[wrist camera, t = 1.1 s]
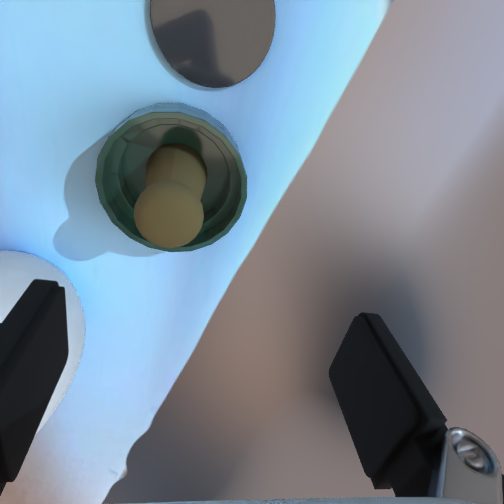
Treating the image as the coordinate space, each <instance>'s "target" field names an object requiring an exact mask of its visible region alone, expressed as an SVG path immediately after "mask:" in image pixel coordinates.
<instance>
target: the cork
mask: <svg viewBox="0 0 504 504" xmlns="http://www.w3.org/2000/svg"><path fill="white" fill-rule="evenodd" d="M207 176H208V175H207V167H206V165H205V163H204V160H203V158H202V157H201V156H200V155H199V154H198V153H197V152H196V151H195V150H194V149H192V148H190V147H188V146H187V145H182V144H178V143H173V144H165V145H163V146H161V147H159V148H157V149H156V150H155V151H154V152H153V153H152V154H151V155H150V157H149V159H148V161H147V163H146V178H145V190H144V191H143V192H142V193H141V194H140V196H139V198H138V200H137V202H136V204H135V208H134V219H135V223H136V226H137V229H138V230H139V232H140V233H141V235H142V236H143V237H144V238H146V239H147V240H148V241H149V242H151V243H153V244H155V245H157V246H160V247H166V248H174V247H180V246H183V245H185V244H188V243H189V242H191V241H192V240H193V239H194V238H195V237H196V236H197V234H198V233H199V231H200V229H201V228H202V224H203V219H204V213H203V206H202V203H201V202H200V200H201V197H202V194H203V191H204V188H205V185H206V181H207Z"/></svg>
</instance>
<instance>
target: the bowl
mask: <svg viewBox="0 0 504 504" xmlns="http://www.w3.org/2000/svg"><path fill="white" fill-rule="evenodd" d="M173 143H178V144H182V145H187V146H188V147H190V148H192V149H194V150H195V151H196V152H197V153H198V154H199V155H200V156H201V157H202V158H203V160H204V163H205V165H206V167H207V175H208V176H207V181H206V185H205V188H204V191H203V194H202V197H201V200H200V202H201V203H202V206H203V213H204V219H203V224H202V228H201V229H200V231H199V233H198V234H197V236H196V237H195V238H194V239H193V240H192V241H191V242H189V243H188V244H185V245H183V246H180V247H174V248H166V247H160V246H157V245H155V244H153V243H151V242H149V241H148V240H147V239H146V238H144V237H143V236H142V235H141V233H140V232H139V230H138V229H137V226H136V223H135V219H134V208H135V204H136V202H137V200H138V198H139V196H140V194H141V193H142V192H143V191H144V190H145V178H146V163H147V161H148V159H149V157H150V155H151V154H152V153H153V152H154V151H155V150H156V149H157V148H159V147H161V146H163V145H165V144H173ZM95 182H96V187H97V191H98V195H99V199H100V203H101V204H102V206H103V208H104V209H105V211H106V213H107V214H108V216H109V218H110V219H111V221H112V222H113V223H114V224H115V225H116V226H117V227H118V228H119V229H120V230H121V231H123V232H124V233H125V234H126V235H127V236H128V237H129V238H131V239H133V240H135V241H137V242H139V243H141V244H143V245H145V246H147V247H149V248H154V249H158V250H163V251H168V252H183V251H193V250H196V249H199V248H202V247H205V246H208V245H211V244H213V243H214V242H216V241H217V240H219V239H220V238H221V237H223V236H224V235H226V234H227V233H228V232H229V231H230V229H231V228H232V227H233V226H234V224H235V223H236V222H237V220H238V219H239V218H240V216H241V213H242V210H243V207H244V205H245V202H246V198H247V175H246V172H245V169H244V166H243V162H242V159H241V156H240V153H239V150H238V147H237V144H236V142H235V141H234V139H233V138H232V136H231V135H230V134H229V132H228V131H227V129H226V128H225V127H224V125H223V124H221V123H220V122H219V121H217V120H216V119H215V118H213V117H212V116H211V115H209V114H208V113H207V112H205V111H203V110H200V109H198V108H195V107H192V106H189V105H186V104H183V103H182V104H181V103H158V104H154V105H151V106H148V107H146V108H143V109H140V110H137V111H135V112H134V113H133V114H132V115H131V116H129V117H128V118H127V119H126V120H125V121H124V122H122V123H121V124H120V125H119V126H118V127H117V128H116V129H115V130H114V132H113V133H112V134H111V135H110V136H109V137H108V139H107V141H106V143H105V145H104V147H103V149H102V150H101V152H100V154H99V156H98V160H97V169H96V177H95Z"/></svg>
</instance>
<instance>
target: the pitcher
mask: <svg viewBox="0 0 504 504" xmlns="http://www.w3.org/2000/svg"><path fill="white" fill-rule="evenodd" d="M34 279H43V280H53V281H57V282H58V284H59V286H62V287H64V288H65V296H66V313H67V330H68V347H69V354H68V359H67V363H66V365H65V367H64V370H63V372H62V374H61V377H60V379H59V381H58V383H57V386H56V388H55V390H54V393H53V395H52V397H51V400H50V402H49V404H48V406H47V409H46V411H45V413H44V416H43V418H42V420H41V422H40V425H39V427H38V429H37V432H36V434H37V433H38V431H39V430H40V429H41V428H42V427H43V425H44V424H45V423H46V422H47V420H48V419H49V418H50V416H51V415H52V414H53V412H54V411H55V409H56V408H57V406H58V405H59V404H60V402H61V400H62V399H63V397H64V395H65V394H66V392H67V390H68V388H69V386H70V384H71V382H72V380H73V378H74V376H75V373H76V371H77V368H78V366H79V363H80V360H81V356H82V353H83V348H84V342H85V330H86V329H85V317H84V312H83V308H82V304H81V301H80V298H79V296H78V294H77V292H76V289H75V288H74V286H73V284H72V283H71V281H70V280H69V278H68V277H67V276H66V275H65V274H64V273H63V272H62V271H61V270H60V269H59V268H58V267H56V266H55V265H53V264H52V263H50V262H48V261H47V260H45V259H42V258H40V257H37V256H35V255H32V254H29V253H24V252H19V251H7V250H0V323H2V322H3V320H4V319H5V318H6V316H7V315H8V313H9V312H10V311H11V309H12V308H13V307H14V305H15V304H16V303H17V301H18V300H19V298H20V297H21V296H22V294H23V293H24V292H25V290H26V289H27V288H28V286H29V285H30V283H31V282H32V281H33V280H34ZM36 434H35V435H36Z"/></svg>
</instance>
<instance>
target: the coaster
mask: <svg viewBox="0 0 504 504" xmlns="http://www.w3.org/2000/svg"><path fill="white" fill-rule="evenodd" d="M150 16H151V23H152V28H153V32H154V35H155V38H156V41H157V43H158V45H159V47H160V49H161V51H162V53H163V55H164V56H165V58H166V59H167V61H168V62H169V63H170V64H171V66H172V67H173V68H174V69H175V70H176V71H177V72H179V73H180V74H181V75H182V76H184V77H185V78H187V79H188V80H190V81H192V82H194V83H196V84H199V85H202V86H206V87H213V88H221V87H228V86H231V85H234V84H237V83H239V82H241V81H243V80H244V79H246V78H248V77H249V76H250V75H251V74H252V73H254V72H255V70H256V69H257V68H258V67H259V66H260V65H261V63H262V62H263V60H264V59H265V57H266V55H267V53H268V51H269V48H270V46H271V43H272V39H273V35H274V29H275V16H276V15H275V4H274V0H150Z"/></svg>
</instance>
